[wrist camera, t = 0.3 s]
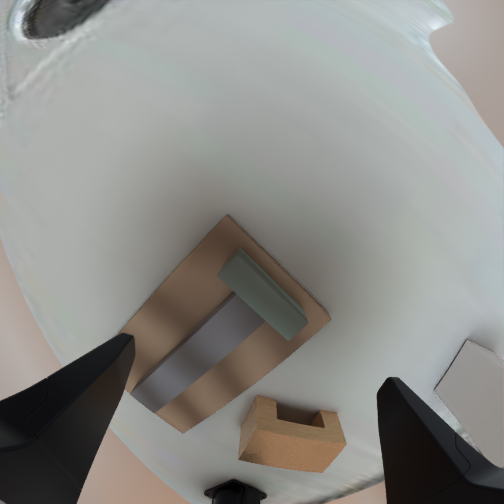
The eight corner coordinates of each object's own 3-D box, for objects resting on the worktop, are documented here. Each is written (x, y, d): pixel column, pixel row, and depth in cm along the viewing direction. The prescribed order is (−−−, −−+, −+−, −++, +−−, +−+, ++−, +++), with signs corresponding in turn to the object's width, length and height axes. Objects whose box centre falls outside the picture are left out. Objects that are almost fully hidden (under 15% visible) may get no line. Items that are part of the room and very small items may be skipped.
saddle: (315, 441, 27) (322, 472, 23) (241, 426, 27) (238, 459, 22) (336, 412, 27) (346, 444, 22) (257, 395, 26) (256, 428, 21)
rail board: (185, 426, 27) (177, 452, 23) (99, 356, 26) (81, 376, 22) (328, 313, 24) (340, 334, 20) (227, 214, 23) (221, 218, 19)
